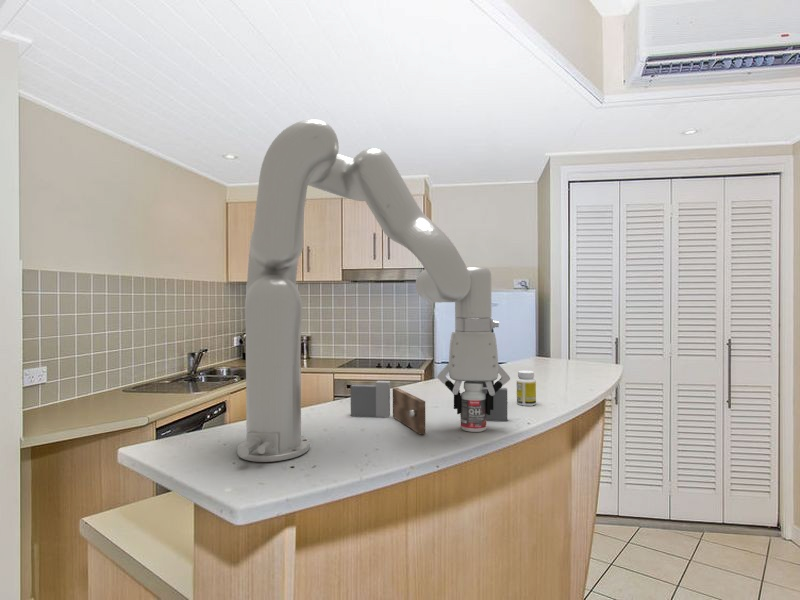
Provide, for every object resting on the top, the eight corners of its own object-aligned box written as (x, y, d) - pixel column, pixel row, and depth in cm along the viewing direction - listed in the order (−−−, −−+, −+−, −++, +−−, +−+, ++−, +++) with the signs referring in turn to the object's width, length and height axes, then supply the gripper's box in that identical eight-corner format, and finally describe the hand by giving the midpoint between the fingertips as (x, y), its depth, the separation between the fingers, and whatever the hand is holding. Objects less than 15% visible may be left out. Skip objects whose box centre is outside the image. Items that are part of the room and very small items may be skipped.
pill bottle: (470, 434, 91) (470, 385, 91) (455, 427, 96) (455, 381, 96) (491, 430, 94) (491, 383, 94) (475, 424, 98) (475, 379, 98)
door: (387, 416, 104) (387, 388, 104) (397, 415, 105) (397, 387, 105) (414, 435, 90) (414, 402, 90) (425, 433, 91) (425, 401, 91)
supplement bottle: (538, 403, 117) (538, 371, 117) (533, 407, 113) (532, 373, 113) (519, 401, 120) (519, 369, 120) (514, 404, 116) (514, 372, 116)
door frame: (507, 421, 101) (507, 385, 101) (350, 416, 105) (350, 381, 105) (506, 418, 103) (506, 383, 103) (352, 413, 107) (352, 380, 107)
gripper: (513, 325, 97) (513, 409, 97) (433, 325, 100) (433, 407, 100) (517, 327, 90) (517, 419, 90) (431, 327, 92) (431, 416, 92)
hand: (473, 412), depth 95 cm, fingers closed on pill bottle, 5 cm apart
